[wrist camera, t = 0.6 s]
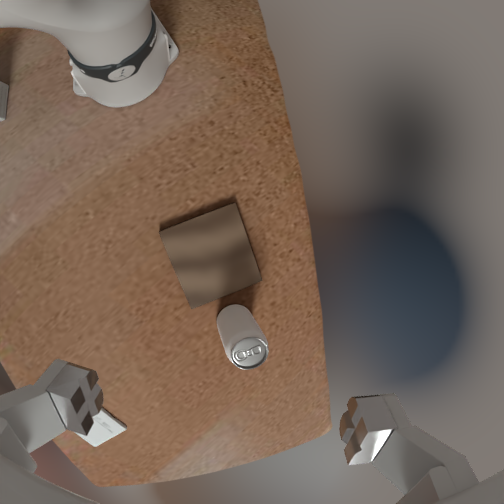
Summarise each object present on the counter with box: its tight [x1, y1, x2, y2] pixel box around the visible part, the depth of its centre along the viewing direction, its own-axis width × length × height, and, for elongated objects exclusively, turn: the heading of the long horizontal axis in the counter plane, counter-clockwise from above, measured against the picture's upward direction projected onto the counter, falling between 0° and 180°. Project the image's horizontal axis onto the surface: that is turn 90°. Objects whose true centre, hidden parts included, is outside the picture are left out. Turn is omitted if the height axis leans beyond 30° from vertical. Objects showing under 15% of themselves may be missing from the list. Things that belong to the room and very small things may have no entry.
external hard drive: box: [75, 408, 127, 447], centre depth 50 cm, size 2×8×12 cm
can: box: [217, 304, 268, 370], centre depth 46 cm, size 6×6×12 cm
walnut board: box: [159, 202, 262, 309], centre depth 48 cm, size 14×13×1 cm
